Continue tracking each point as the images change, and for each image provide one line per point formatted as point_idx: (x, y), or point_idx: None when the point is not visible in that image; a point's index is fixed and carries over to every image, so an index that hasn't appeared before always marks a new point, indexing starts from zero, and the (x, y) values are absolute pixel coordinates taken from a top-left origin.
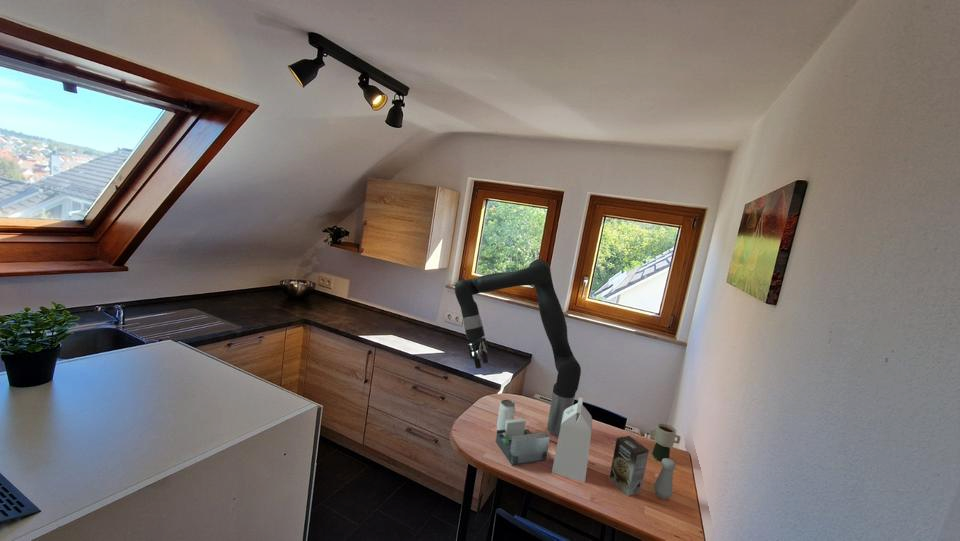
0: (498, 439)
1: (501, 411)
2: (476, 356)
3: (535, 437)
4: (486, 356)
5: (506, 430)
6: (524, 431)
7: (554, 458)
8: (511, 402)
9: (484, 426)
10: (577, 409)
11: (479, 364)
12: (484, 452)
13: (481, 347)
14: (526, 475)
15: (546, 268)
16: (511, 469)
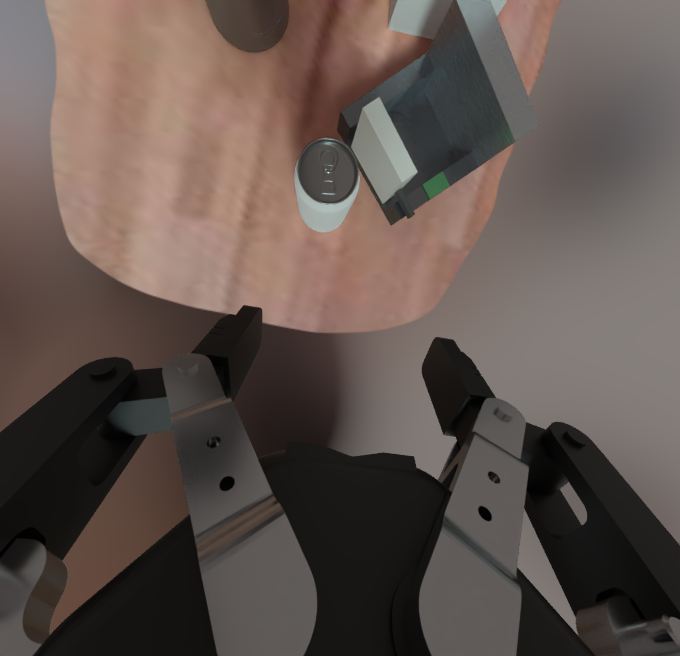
0: None
1: (351, 204)
2: (584, 440)
3: (501, 45)
4: (240, 340)
5: (406, 183)
6: (353, 127)
7: (504, 4)
8: (308, 156)
9: (328, 270)
10: None
11: (460, 359)
12: (445, 247)
13: (321, 490)
14: None
15: None
16: (490, 167)
